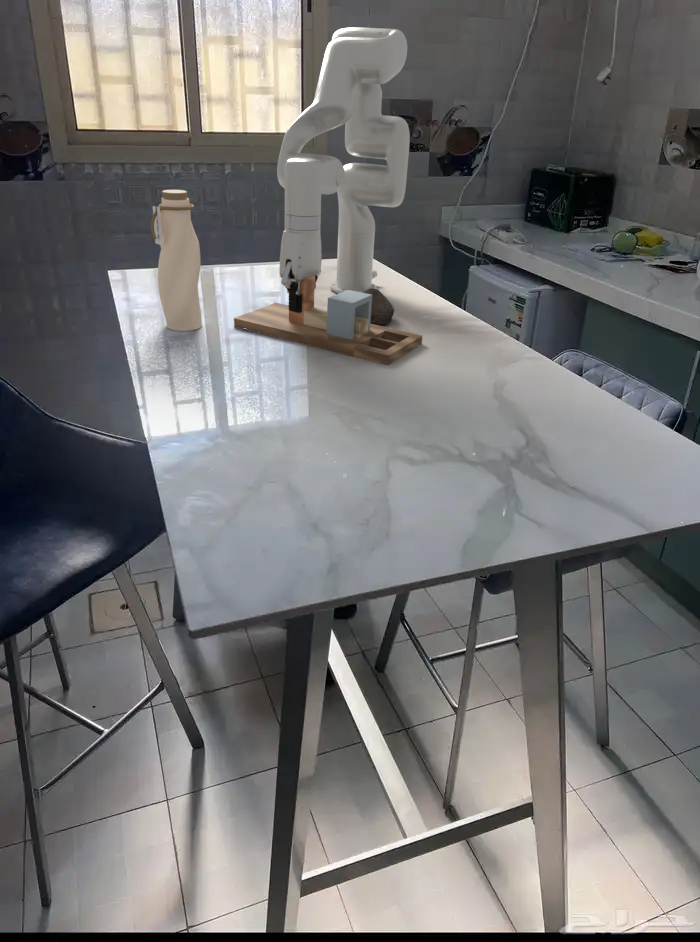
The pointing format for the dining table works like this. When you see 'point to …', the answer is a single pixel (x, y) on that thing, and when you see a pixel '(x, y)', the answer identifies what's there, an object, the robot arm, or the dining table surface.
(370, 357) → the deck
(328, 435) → the dining table surface
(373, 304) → the stone
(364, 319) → the l-shaped wooden block
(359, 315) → the tunnel
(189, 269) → the water bottle
